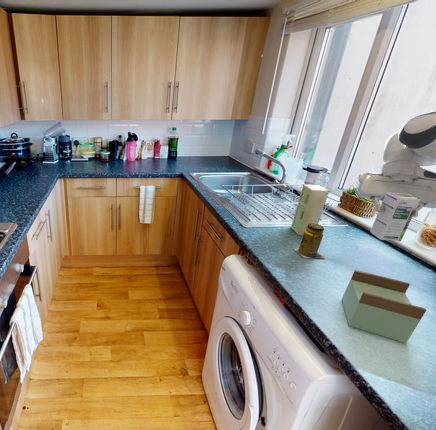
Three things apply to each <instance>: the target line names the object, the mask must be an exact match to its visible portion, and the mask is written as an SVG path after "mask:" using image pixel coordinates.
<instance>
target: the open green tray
mask: <svg viewBox="0 0 436 430" xmlns="http://www.w3.org/2000/svg"><path fill="white" fill-rule="evenodd" d="M351 275H352V276H351V277H350V279H349V282H348V284H347V286H346V289H345V290H344V293H343V296H342V298H341V302H342V306H343V310H344V314H345V318H346V321H347V325H348V326H349V327H352V328H354V329H355V328H356V329H358V330H362V331H364V332H365V331H366V332H369V333H372V334H374V335H378V336H381V337H384V338H388V339H391V340H394V341H396V342H401V343H404V344H407V342H408V341H409V340H410V338H411V336H412V335H413V333H414V332H415V330H416V328H417V327H418V325H419V324H420V322H421V320H422V318H423V317H424V315H426V312H427V309H426V308H425V307H421V306H418V305H414V304H412V303H411V301H410V299H409V297H408V296H407V294H406V293H407V291H408V289H409V287H410V285H411V283H410V282H406V281H403V280H398V279H395V278H390V277H386V276H382V275H377V274H373V273H369V272H366V271H361V270H357V269H354V270H353V273H352V274H351Z"/></svg>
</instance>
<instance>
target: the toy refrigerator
mask: <svg viewBox="0 0 436 430" xmlns="http://www.w3.org/2000/svg"><path fill="white" fill-rule="evenodd" d="M329 193H330V190H329V189H327V188H325V187H323V186H321V185H319V184H303V185H302V188H301V192H300V195H299V197H298V198H299V199H298V202H297V205H296V209H295V212H294V216H293V218H292V222H291V226H290V228H291V229H292V230H293V231H294V233H296V234H297V235H298V236H303V234H304V231H305V230H306V228H307V226H308V224H311V223H313V224H318V225H319V222H320V219H321V217H322V213H323V210H324V207H325V205H326V202H327V200H328V196H329Z"/></svg>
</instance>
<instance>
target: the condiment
mask: <svg viewBox="0 0 436 430" xmlns="http://www.w3.org/2000/svg"><path fill="white" fill-rule="evenodd" d="M324 232H325V227H324V226H323V225H321V224H319V223H318V224H313V223H311V224H308V226H307V228H306V230H305V231H304V234H303V235H302V237H301V239H300V240H301V241H300V243H299V246H298V247H297V248H294V247H293V250H295V252H296V253H298V255H300V256H301V257H302V258H304V259H326V257H325V256H324V255H323V254H321V253H320V252H319V249H320V246H321V243H322V241H323V238H324V234H323V233H324Z"/></svg>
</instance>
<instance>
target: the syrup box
mask: <svg viewBox="0 0 436 430" xmlns="http://www.w3.org/2000/svg"><path fill="white" fill-rule="evenodd" d="M419 202H420V199H419V198H417V197H416V196H413V195H411V194H404V193H390V192H387V193H386V195H385V197H384V199H383V201H381V203H380V204H381V205H383V206H384V210H383V211H382V212H377V214H376V217H375V219H374V221H373V223H372V226H371V229H370V230H369V231H370V233H371V234H372V235H374V237H376V238H378V239H379V240H381V241H393V242H402V241H403V238H404V236H405V233H406V232H407V229H408V227H409V226H410V223H411V221H412V220H413V215H414V213H415V210H416V208H417V206H418V204H419Z"/></svg>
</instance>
